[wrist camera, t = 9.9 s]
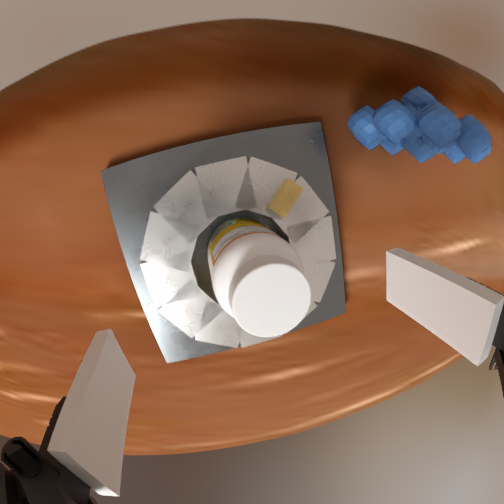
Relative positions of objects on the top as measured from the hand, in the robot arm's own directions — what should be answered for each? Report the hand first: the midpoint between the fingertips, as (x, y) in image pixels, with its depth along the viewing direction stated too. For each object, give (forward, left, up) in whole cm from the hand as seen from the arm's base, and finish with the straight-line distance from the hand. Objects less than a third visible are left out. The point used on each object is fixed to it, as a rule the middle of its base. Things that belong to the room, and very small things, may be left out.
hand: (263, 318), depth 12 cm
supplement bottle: (+1, 0, -11) cm, 11 cm away
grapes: (+16, +8, -12) cm, 22 cm away
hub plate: (0, 0, -12) cm, 12 cm away
